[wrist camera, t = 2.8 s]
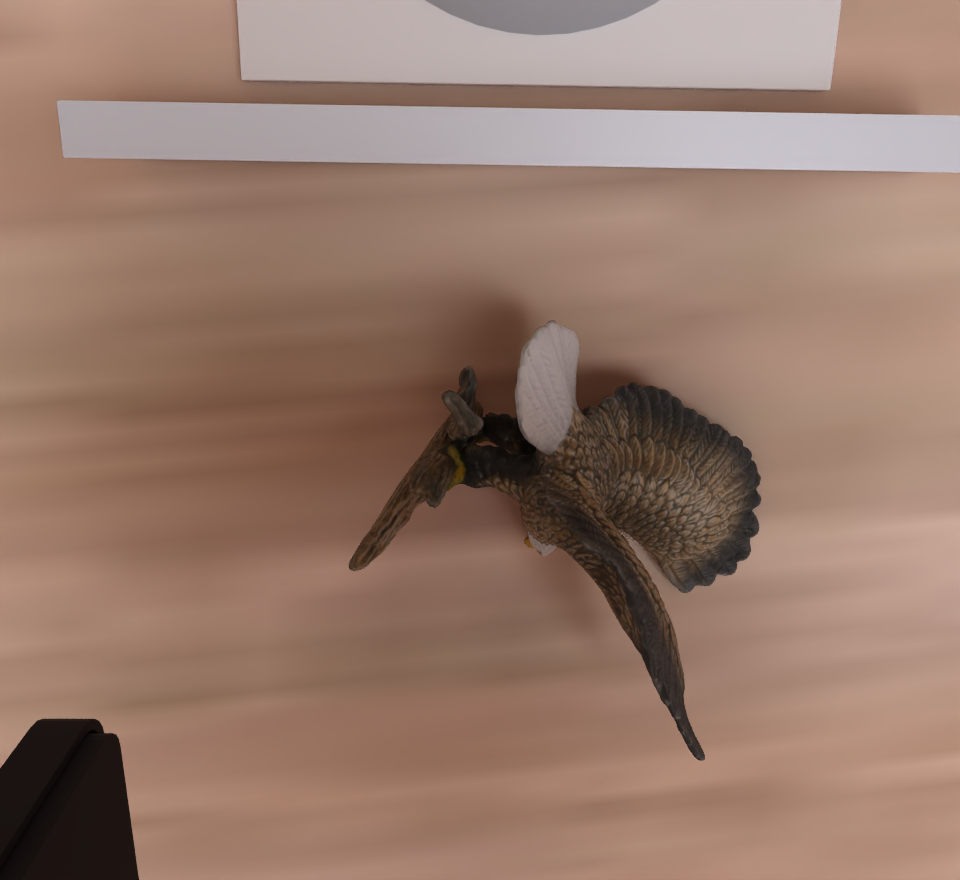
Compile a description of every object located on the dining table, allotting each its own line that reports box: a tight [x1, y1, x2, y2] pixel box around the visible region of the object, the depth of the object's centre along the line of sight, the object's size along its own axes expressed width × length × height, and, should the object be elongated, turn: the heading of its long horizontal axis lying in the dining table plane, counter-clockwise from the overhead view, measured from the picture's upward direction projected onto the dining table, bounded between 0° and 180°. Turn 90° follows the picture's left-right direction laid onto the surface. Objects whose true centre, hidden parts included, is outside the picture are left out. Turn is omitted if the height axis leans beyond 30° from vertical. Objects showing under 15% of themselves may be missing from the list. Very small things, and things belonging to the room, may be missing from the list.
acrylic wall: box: [57, 100, 960, 173], centre depth 18 cm, size 18×1×4 cm, turn 89°
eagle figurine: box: [349, 321, 761, 761], centre depth 20 cm, size 8×7×9 cm
